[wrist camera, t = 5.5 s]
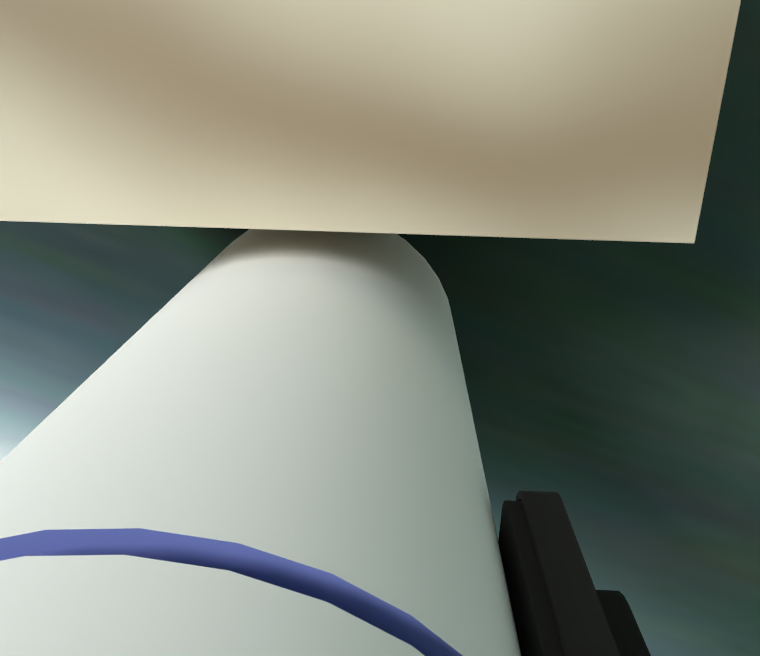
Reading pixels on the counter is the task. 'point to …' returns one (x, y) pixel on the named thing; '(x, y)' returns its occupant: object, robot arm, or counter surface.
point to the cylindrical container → (264, 474)
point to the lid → (364, 114)
